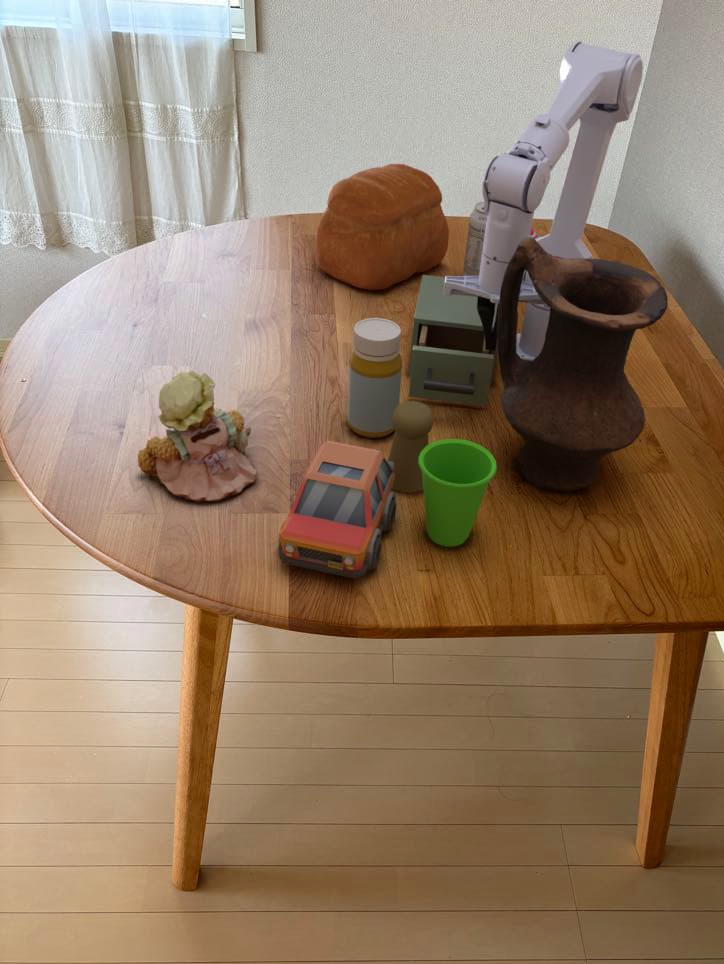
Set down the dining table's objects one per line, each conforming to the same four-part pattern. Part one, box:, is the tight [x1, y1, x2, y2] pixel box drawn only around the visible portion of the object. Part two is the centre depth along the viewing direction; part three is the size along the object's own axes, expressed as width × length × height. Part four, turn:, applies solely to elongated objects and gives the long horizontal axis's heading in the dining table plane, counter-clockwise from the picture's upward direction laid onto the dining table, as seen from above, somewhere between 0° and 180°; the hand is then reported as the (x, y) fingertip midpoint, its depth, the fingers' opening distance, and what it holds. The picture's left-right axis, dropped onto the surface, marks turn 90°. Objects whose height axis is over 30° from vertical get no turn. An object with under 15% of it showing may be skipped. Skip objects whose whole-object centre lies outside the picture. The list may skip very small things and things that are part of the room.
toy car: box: [277, 439, 397, 579], centre depth 106 cm, size 12×17×10 cm
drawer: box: [408, 324, 494, 407], centre depth 133 cm, size 18×11×8 cm, turn 174°
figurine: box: [137, 370, 258, 503], centre depth 112 cm, size 15×14×15 cm
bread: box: [314, 163, 450, 291], centre depth 160 cm, size 18×22×17 cm
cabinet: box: [408, 274, 498, 386], centre depth 141 cm, size 15×13×10 cm
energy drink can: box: [462, 201, 487, 276], centre depth 157 cm, size 6×6×15 cm
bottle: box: [347, 317, 403, 439], centre depth 123 cm, size 7×7×15 cm
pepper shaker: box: [387, 400, 435, 494], centre depth 115 cm, size 6×6×11 cm
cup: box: [418, 438, 498, 548], centre depth 108 cm, size 9×9×11 cm
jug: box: [496, 237, 669, 493], centre depth 114 cm, size 21×18×30 cm
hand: (490, 346), depth 126 cm, fingers closed
